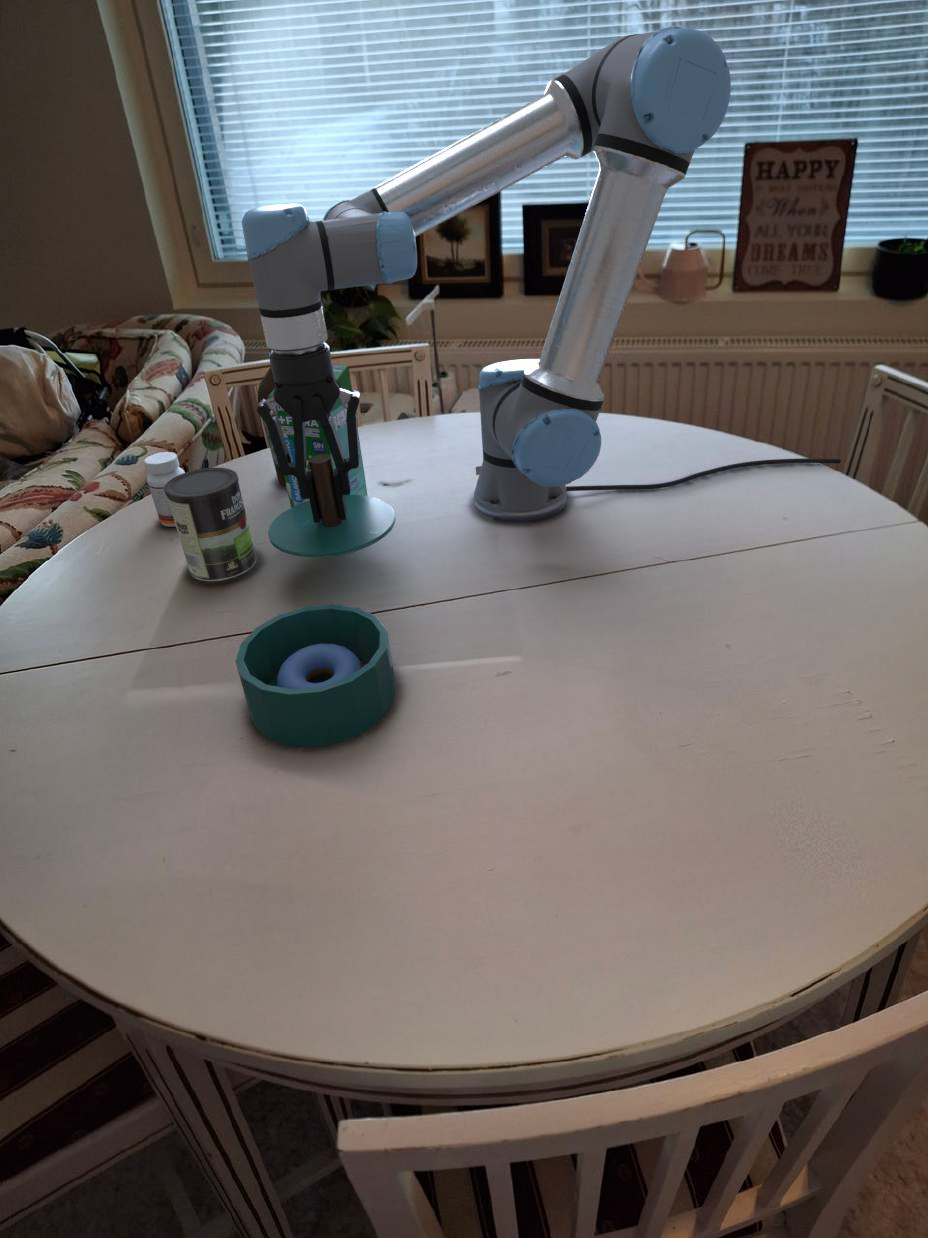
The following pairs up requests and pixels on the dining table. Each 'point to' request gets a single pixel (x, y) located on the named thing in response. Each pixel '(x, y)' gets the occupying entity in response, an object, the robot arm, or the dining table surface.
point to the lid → (330, 520)
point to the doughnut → (317, 666)
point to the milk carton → (322, 441)
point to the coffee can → (211, 523)
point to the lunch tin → (327, 707)
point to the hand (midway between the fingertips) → (330, 516)
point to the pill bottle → (162, 482)
